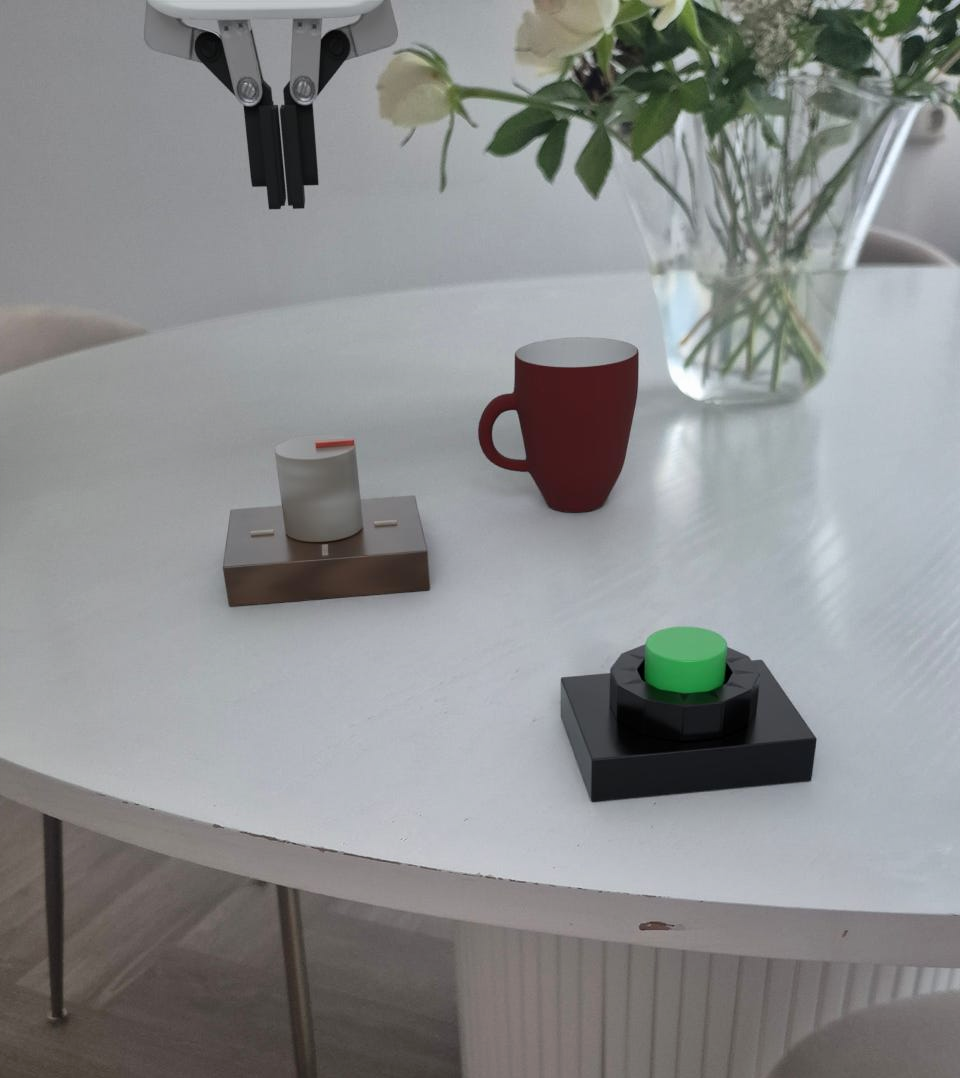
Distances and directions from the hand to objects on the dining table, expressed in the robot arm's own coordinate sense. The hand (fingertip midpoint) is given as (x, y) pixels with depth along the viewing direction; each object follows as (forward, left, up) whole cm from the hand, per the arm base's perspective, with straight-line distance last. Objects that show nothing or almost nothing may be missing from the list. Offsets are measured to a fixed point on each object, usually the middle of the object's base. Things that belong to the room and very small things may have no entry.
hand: (287, 203), depth 57 cm
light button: (+16, -15, -18) cm, 28 cm away
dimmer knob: (0, +11, -19) cm, 22 cm away
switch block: (+16, -15, -22) cm, 31 cm away
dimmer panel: (0, +11, -22) cm, 25 cm away
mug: (+16, +19, -22) cm, 33 cm away
